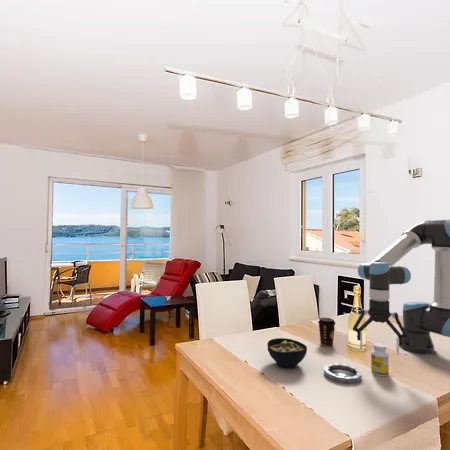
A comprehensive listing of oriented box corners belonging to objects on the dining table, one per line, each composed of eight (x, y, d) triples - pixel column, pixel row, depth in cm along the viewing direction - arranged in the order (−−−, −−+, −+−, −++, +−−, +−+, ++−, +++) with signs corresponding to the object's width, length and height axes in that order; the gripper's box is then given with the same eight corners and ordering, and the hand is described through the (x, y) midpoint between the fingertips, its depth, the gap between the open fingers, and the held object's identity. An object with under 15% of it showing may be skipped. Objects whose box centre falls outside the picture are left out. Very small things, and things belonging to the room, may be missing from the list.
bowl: (283, 376, 127) (283, 351, 128) (259, 361, 143) (259, 339, 143) (315, 368, 135) (315, 345, 135) (289, 354, 150) (289, 333, 151)
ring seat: (361, 372, 132) (361, 367, 132) (360, 386, 119) (360, 381, 119) (326, 366, 138) (326, 361, 138) (322, 379, 125) (322, 374, 125)
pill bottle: (368, 370, 134) (368, 342, 134) (382, 369, 134) (382, 342, 135) (376, 377, 127) (376, 347, 128) (392, 376, 128) (391, 347, 128)
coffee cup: (333, 341, 169) (333, 317, 170) (337, 347, 161) (337, 321, 161) (316, 341, 170) (316, 316, 170) (320, 346, 162) (319, 321, 162)
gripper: (412, 300, 130) (412, 353, 129) (347, 295, 140) (347, 343, 140) (415, 304, 123) (415, 359, 123) (346, 297, 134) (346, 348, 133)
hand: (379, 351), depth 131 cm, fingers open, 13 cm apart
